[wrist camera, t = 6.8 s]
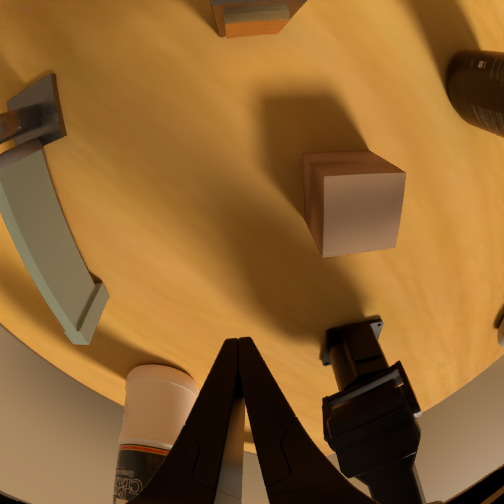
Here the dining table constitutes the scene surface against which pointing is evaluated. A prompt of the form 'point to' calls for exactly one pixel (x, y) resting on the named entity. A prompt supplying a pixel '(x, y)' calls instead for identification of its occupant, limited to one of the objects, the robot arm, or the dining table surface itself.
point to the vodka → (150, 424)
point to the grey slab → (48, 242)
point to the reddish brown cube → (352, 201)
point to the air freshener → (501, 334)
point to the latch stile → (253, 16)
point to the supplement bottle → (478, 88)
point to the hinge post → (34, 114)
